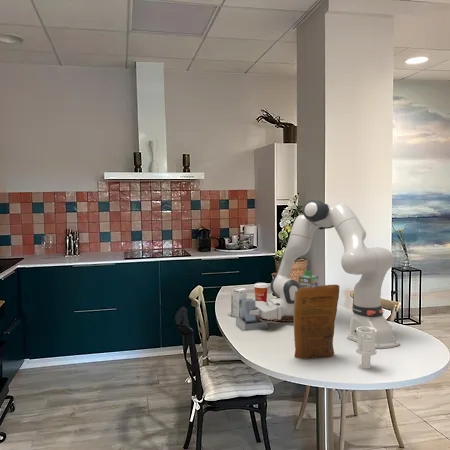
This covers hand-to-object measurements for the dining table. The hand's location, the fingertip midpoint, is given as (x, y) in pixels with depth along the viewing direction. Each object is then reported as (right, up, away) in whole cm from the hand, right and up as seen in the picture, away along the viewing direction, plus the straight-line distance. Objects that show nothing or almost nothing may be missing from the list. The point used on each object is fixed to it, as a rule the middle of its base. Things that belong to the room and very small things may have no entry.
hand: (246, 310), depth 207 cm
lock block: (+1, -7, +1) cm, 7 cm away
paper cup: (+9, -6, +33) cm, 35 cm away
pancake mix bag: (+25, -11, -38) cm, 46 cm away
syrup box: (-3, -7, +19) cm, 21 cm away
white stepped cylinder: (+41, -11, -48) cm, 64 cm away
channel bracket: (+3, -8, +1) cm, 8 cm away
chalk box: (+42, -3, +68) cm, 80 cm away
